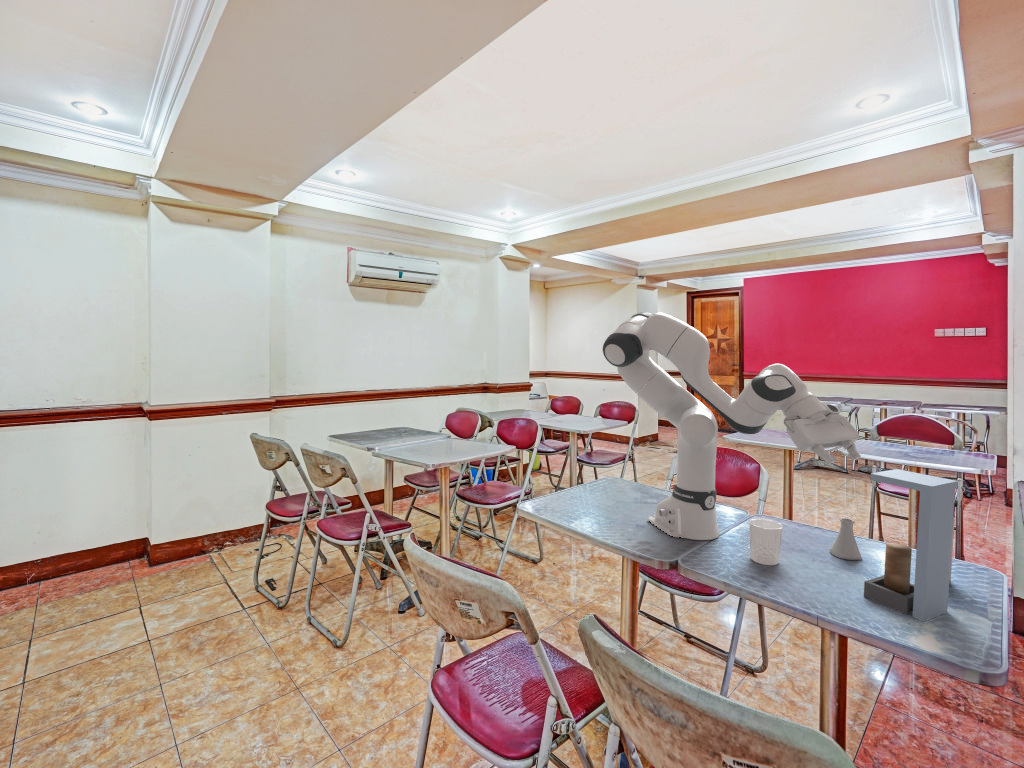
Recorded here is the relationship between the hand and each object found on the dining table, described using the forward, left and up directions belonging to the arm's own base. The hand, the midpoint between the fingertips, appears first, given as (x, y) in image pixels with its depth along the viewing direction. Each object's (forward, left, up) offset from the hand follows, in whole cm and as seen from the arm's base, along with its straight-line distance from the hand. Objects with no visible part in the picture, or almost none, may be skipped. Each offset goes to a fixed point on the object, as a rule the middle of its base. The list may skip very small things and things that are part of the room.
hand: (844, 460), depth 118 cm
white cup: (-15, -8, -30) cm, 34 cm away
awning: (+14, +1, -29) cm, 32 cm away
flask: (-8, +15, -30) cm, 34 cm away
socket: (+12, 0, -29) cm, 32 cm away
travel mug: (+10, +20, -30) cm, 37 cm away
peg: (+12, 0, -29) cm, 31 cm away
